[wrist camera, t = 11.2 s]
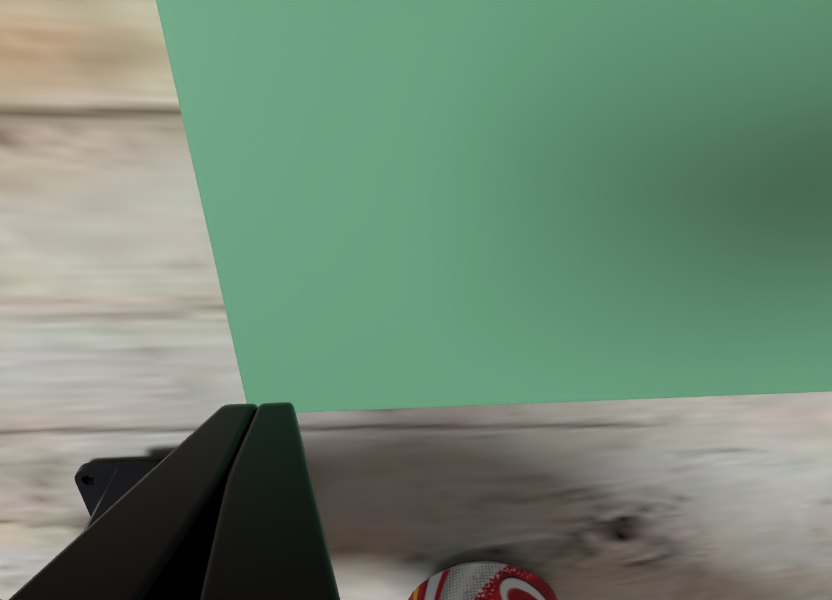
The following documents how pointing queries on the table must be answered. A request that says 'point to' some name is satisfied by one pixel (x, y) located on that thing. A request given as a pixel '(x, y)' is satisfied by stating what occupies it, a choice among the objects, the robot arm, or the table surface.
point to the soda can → (484, 584)
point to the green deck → (514, 196)
